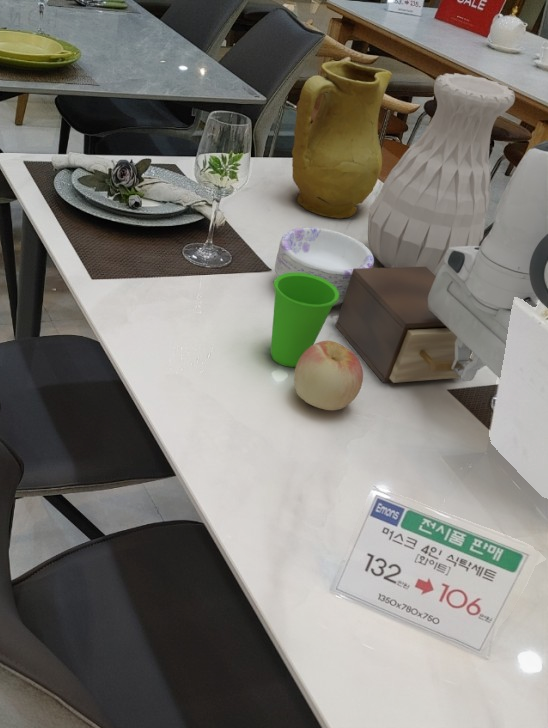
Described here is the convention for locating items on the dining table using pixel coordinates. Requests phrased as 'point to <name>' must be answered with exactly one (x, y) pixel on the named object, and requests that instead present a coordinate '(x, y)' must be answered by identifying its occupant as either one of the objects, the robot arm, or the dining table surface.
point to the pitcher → (338, 138)
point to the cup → (299, 314)
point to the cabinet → (385, 312)
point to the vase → (440, 178)
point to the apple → (328, 376)
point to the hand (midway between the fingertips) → (461, 375)
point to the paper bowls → (322, 256)
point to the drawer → (426, 356)
